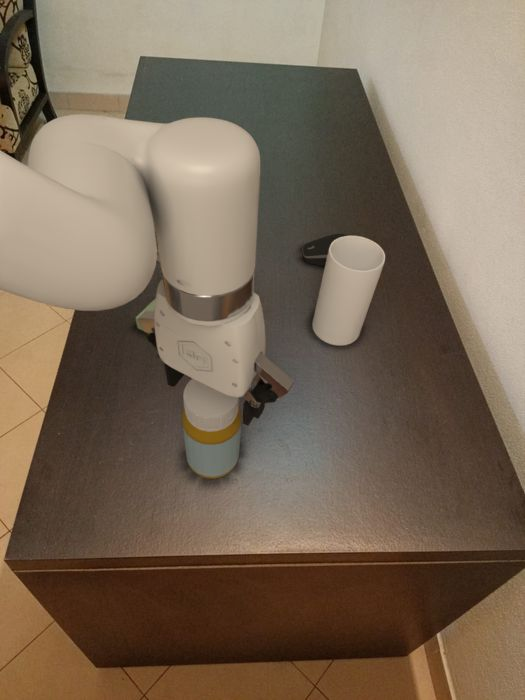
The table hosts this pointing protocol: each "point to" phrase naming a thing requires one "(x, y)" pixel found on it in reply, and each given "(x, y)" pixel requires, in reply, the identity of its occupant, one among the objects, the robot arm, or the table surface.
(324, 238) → the computer mouse
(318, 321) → the cup
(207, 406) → the bottle
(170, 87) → the table surface
